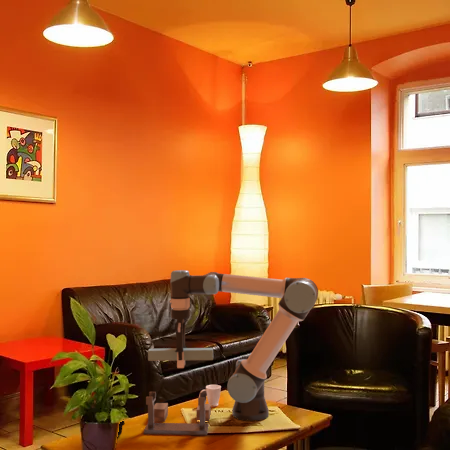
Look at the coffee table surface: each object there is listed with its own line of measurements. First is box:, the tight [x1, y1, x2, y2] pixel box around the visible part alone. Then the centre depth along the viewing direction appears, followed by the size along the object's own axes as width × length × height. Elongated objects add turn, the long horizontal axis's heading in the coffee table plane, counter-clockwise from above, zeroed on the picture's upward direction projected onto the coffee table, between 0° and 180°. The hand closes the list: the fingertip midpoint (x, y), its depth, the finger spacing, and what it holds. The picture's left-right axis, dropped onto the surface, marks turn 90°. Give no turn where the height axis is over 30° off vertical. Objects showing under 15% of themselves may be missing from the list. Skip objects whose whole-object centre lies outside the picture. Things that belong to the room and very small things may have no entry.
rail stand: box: [143, 391, 210, 436], centre depth 224 cm, size 24×8×14 cm, turn 86°
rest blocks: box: [154, 402, 212, 423], centre depth 238 cm, size 23×8×5 cm, turn 86°
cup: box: [198, 384, 222, 407], centre depth 255 cm, size 7×10×8 cm
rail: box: [147, 347, 214, 362], centre depth 235 cm, size 26×4×4 cm, turn 89°
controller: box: [117, 420, 126, 437], centre depth 219 cm, size 4×12×10 cm, turn 25°
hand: (181, 366), depth 235 cm, fingers closed on rail, 4 cm apart
